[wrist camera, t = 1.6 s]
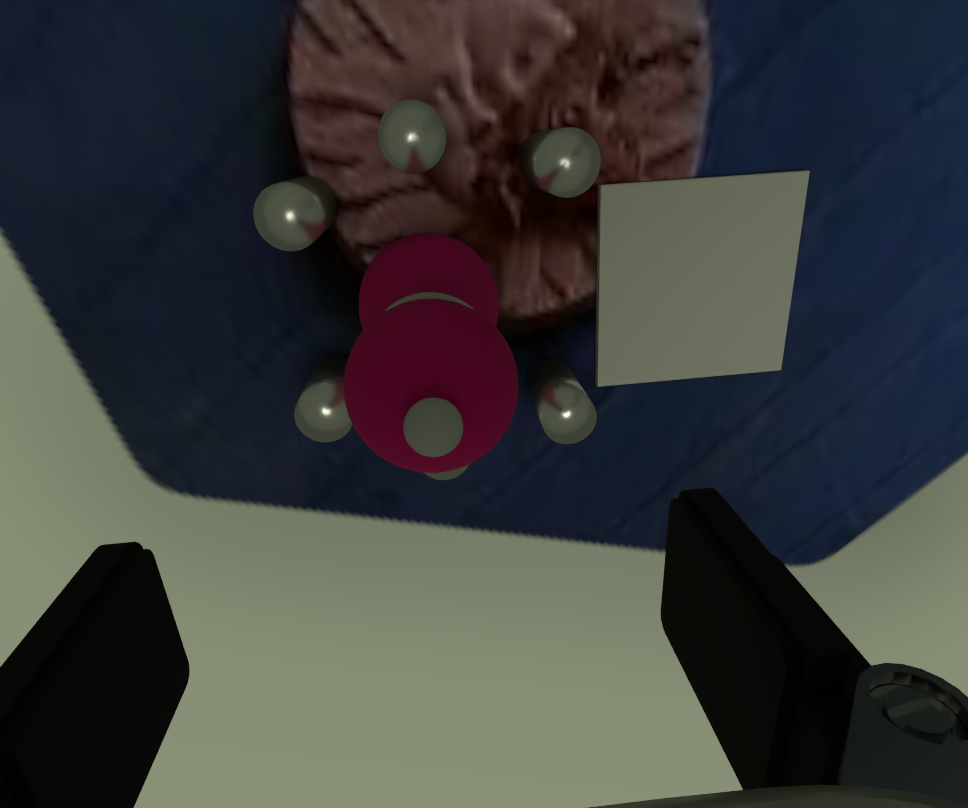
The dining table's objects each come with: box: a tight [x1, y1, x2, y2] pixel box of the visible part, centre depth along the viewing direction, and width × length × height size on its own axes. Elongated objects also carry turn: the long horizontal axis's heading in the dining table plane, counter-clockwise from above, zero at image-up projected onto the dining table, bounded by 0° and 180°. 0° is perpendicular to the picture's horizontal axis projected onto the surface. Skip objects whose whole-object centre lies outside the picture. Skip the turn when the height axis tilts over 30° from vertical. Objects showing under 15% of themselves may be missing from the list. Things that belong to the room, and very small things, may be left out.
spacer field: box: [254, 100, 601, 480], centre depth 33 cm, size 16×19×6 cm
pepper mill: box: [343, 233, 518, 473], centre depth 26 cm, size 7×7×20 cm
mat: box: [595, 170, 810, 387], centre depth 37 cm, size 12×12×1 cm
